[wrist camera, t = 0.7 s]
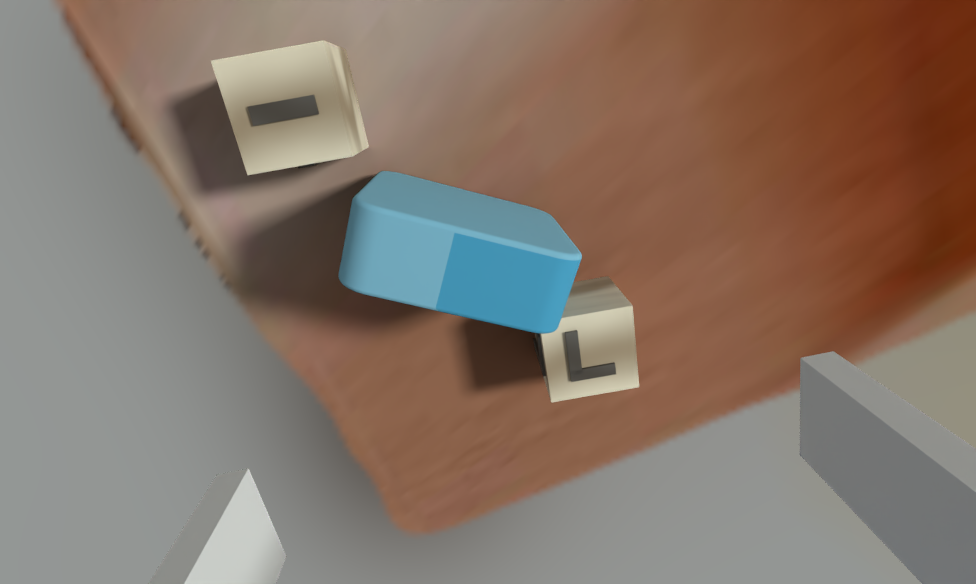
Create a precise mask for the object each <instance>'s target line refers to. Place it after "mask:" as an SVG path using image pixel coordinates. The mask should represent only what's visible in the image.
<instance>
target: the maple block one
mask: <svg viewBox="0 0 976 584" xmlns="http://www.w3.org/2000/svg"><path fill="white" fill-rule="evenodd" d="M211 63H212V66H213V69H214V72H215V75H216V78H217V82H218V85H219V88H220V91H221V94H222V97H223V100H224V103H225V106H226V110H227V113H228V116H229V119H230V122H231V125H232V128H233V131H234V134H235V138H236V141H237V144H238V147H239V150H240V153H241V156H242V159H243V163H244V166H245V169H246V172H247V175H252V174H258V173H263V172H269V171H274V170H280V169H286V168H291V167H297V166H298V168H303V167H308V166H314V165H317V164H319V163H321V162H324V161H330V160H335V159H341V158H347V157H352V156H354V155H356V154H358V153H359V152H361V151H363V150H365V149H366V148H368V147H369V146H368V141H367V137H366V133H365V129H364V125H363V121H362V116H361V112H360V108H359V104H358V100H357V95H356V91H355V87H354V83H353V79H352V75H351V70H350V66H349V62H348V58H347V54H346V49H343V48H341V47H338V46H336V45H334V44H331V43H329V42H326V41H324V40H323V41H317V42H312V43H306V44H301V45H295V46H290V47H284V48H279V49H273V50H268V51H262V52H257V53H251V54H246V55H240V56H235V57H229V58H224V59H218V60H213V61H211Z"/></svg>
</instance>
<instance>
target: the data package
mask: <svg viewBox="0 0 976 584" xmlns="http://www.w3.org/2000/svg"><path fill="white" fill-rule="evenodd" d="M581 258H582V255H581V252H580V251H579V250H578V248H577V247H576V246H575V245H574V243H573V242H572V241H571V240H570V238H569V237H568V236H567V235H566V233H565V232H564V231H563V229H562V228H561V227H560V226H559V224H558V223H557V222H556V221H555V219H554V218H553V217H552V216H551V215H550V214H548V213H546V212H544V211H541V210H539V209H536V208H532V207H529V206H525V205H521V204H517V203H513V202H510V201H506V200H502V199H498V198H494V197H490V196H486V195H483V194H479V193H475V192H471V191H467V190H463V189H459V188H456V187H452V186H448V185H444V184H440V183H436V182H432V181H429V180H425V179H421V178H417V177H413V176H409V175H405V174H401V173H396V172H390V171H381V172H379V173H378V174H377V175H376V176H375V177H374V178H373V179H372V180H371V181H370V182H369V183H368V184H367V185H366V186H365V187H363V188H362V189H361V190H360V191H359V192H358V193H357V194H356V195H355V196H354V198H353V200H352V205H351V210H350V216H349V221H348V226H347V232H346V237H345V243H344V248H343V253H342V259H341V264H340V270H339V280H340V282H341V283H342V284H343V285H344V286H346V287H347V288H349V289H351V290H353V291H355V292H358V293H361V294H365V295H369V296H373V297H378V298H382V299H387V300H391V301H396V302H400V303H404V304H409V305H413V306H418V307H422V308H427V309H431V310H435V311H440V312H444V313H449V314H453V315H458V316H462V317H466V318H471V319H475V320H480V321H484V322H489V323H493V324H497V325H502V326H506V327H511V328H515V329H520V330H524V331H528V332H533V333H541V334H546V333H551V332H554V331H555V330H556V329H557V328H558V326H559V323H560V320H561V317H562V314H563V311H564V308H565V305H566V303H567V300H568V297H569V294H570V291H571V288H572V285H573V282H574V279H575V276H576V273H577V270H578V267H579V264H580V261H581Z"/></svg>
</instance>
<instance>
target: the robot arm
mask: <svg viewBox="0 0 976 584" xmlns="http://www.w3.org/2000/svg"><path fill="white" fill-rule="evenodd" d="M800 456H801V457H802V458H803V459H804V460H805V461H806V462H807V463H808V464H809V465H810V466H811V467H812V468H813V469H814V471H815V472H816V473H817V474H818V475H819V476H820V477H821V478H822V479H823V480H824V481H825V482H826V483H827V484H828V485H829V486H830V487H831V488H832V489H833V491H835V493H836V494H837V495H838V496H839V497H840V498H841V499H842V500H843V501H844V502H845V503H846V504H847V505H848V506H849V507H850V508H851V509H852V510H853V512H854V513H855V514H856V515H857V516H858V517H859V518H860V519H861V520H862V521H863V522H864V523H865V524H866V525H867V526H868V527H869V528H870V529H871V530H872V531H873V533H874V534H875V535H876V536H877V537H878V538H879V539H880V540H881V541H882V542H883V543H884V544H885V545H886V546H887V547H888V548H889V549H890V550H891V551H892V553H894V555H895V556H896V557H897V558H898V559H899V560H900V561H901V562H902V563H903V564H904V565H905V566H906V567H907V568H908V569H909V570H910V571H911V573H912V574H913V575H914V576H915V577H916V578H917V579H918V580H919V581H920V582H921V583H922V584H976V448H974V447H973V446H971V445H970V444H968V443H967V442H965V441H964V440H962V439H961V438H959V437H958V436H957V435H955V434H954V433H952V432H951V431H949V430H948V429H946V428H945V427H943V426H942V425H940V424H939V423H937V422H936V421H935V420H933V419H931V418H930V417H928V416H927V415H926V414H924V413H923V412H921V411H920V410H918V409H917V408H916V407H914V406H912V405H911V404H910V403H908V402H907V401H905V400H904V399H902V398H901V397H899V396H898V395H896V394H895V393H893V392H892V391H890V390H889V389H887V388H886V387H885V386H883V385H882V384H880V383H879V382H877V381H876V380H874V379H873V378H872V377H870V376H869V375H867V374H866V373H864V372H863V371H861V370H860V369H858V368H857V367H855V366H854V365H853V364H851V363H850V362H848V361H847V360H845V359H844V358H842V357H841V356H839V355H838V354H836V353H835V352H828V353H823V354H818V355H813V356H808V357H803V358H801V370H800ZM285 558H286V554H285V552H284V550H283V547H282V545H281V543H280V541H279V538H278V536H277V533H276V531H275V529H274V526H273V524H272V522H271V520H270V517H269V515H268V513H267V510H266V508H265V506H264V503H263V501H262V499H261V496H260V494H259V492H258V489H257V487H256V485H255V482H254V480H253V478H252V475H251V473H250V471H249V469H243V470H238V471H233V472H228V473H223V474H218V475H216V477H215V478H214V480H213V481H212V483H211V485H210V486H209V488H208V489H207V491H206V493H205V494H204V496H203V497H202V499H201V501H200V502H199V504H198V505H197V507H196V509H195V510H194V512H193V513H192V515H191V516H190V518H189V520H188V521H187V523H186V524H185V526H184V527H183V529H182V531H181V532H180V534H179V535H178V537H177V539H176V540H175V542H174V544H173V545H172V546H171V548H170V550H169V551H168V553H167V554H166V556H165V558H164V559H163V561H162V562H161V564H160V566H159V567H158V569H157V570H156V572H155V574H154V575H153V577H152V578H151V580H150V582H149V583H148V584H276V582H277V580H278V577H279V574H280V572H281V569H282V566H283V563H284V561H285Z"/></svg>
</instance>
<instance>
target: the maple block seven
mask: <svg viewBox="0 0 976 584" xmlns="http://www.w3.org/2000/svg"><path fill="white" fill-rule="evenodd" d="M533 341H534V347H535V351H536V354H537V357H538V361H539V364H540V367H541V370H542V374H543V377H544V380H545V383H546V387H547V390H548V393H549V396H550V400H551V402H557V401H563V400H568V399H574V398H580V397H585V396H591V395H597V394H602V393H608V392H614V391H619V390H625V389H631V388H636V387H639V379H638V367H637V355H636V342H635V330H634V318H633V306H632V304H631V303H630V302H629V301H628V300H627V298H626V297H625V296H624V295H623V294H622V292H621V291H620V290H619V289H618V288H617V286H616V285H615V284H614V283H613V282H612V280H611V279H610V278H609V277H608V276H606V277H601V278H595V279H589V280H584V281H578V282H573V285H572V288H571V291H570V294H569V297H568V300H567V303H566V305H565V308H564V311H563V314H562V317H561V320H560V323H559V326H558V328H557V329H556V330H555V331H554V332H551V333H546V334H541V333H535V338H534V339H533Z"/></svg>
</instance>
